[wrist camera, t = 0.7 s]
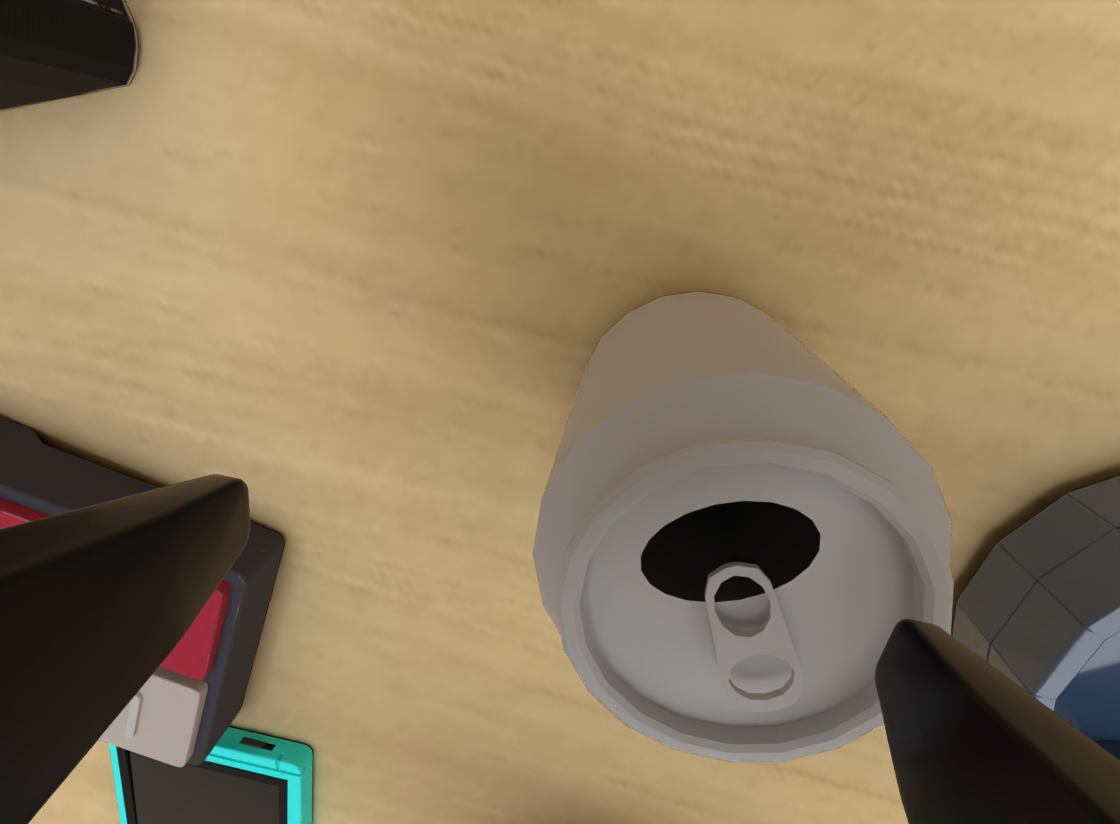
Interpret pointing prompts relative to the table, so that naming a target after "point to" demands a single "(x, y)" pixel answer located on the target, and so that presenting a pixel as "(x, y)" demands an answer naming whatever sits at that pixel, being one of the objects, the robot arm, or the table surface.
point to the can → (734, 535)
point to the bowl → (1056, 610)
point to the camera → (64, 49)
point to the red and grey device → (209, 644)
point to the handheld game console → (219, 784)
